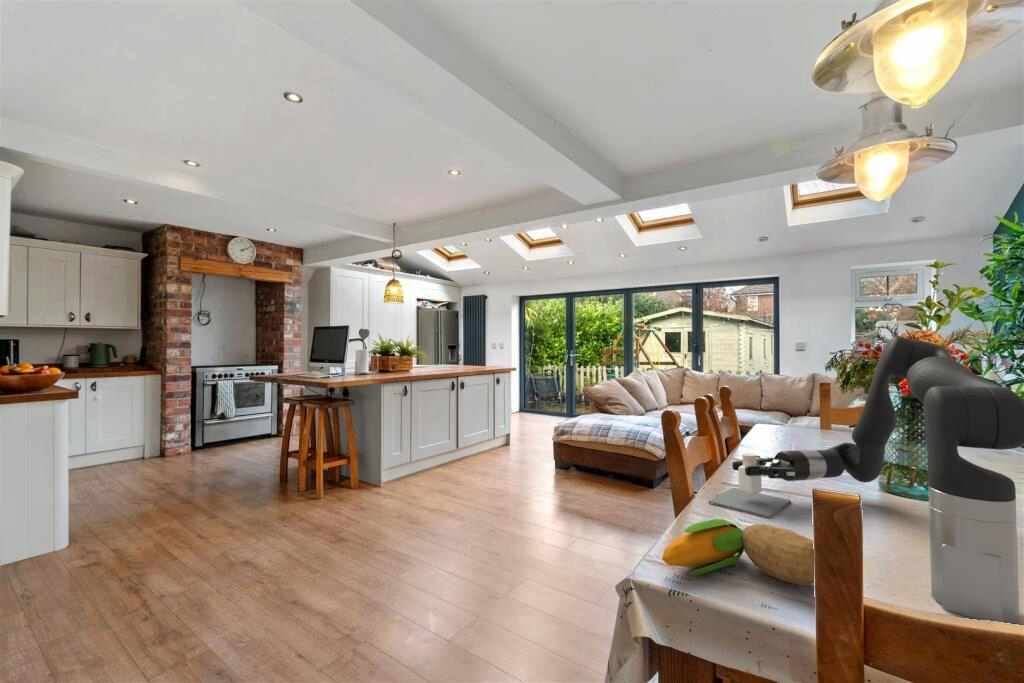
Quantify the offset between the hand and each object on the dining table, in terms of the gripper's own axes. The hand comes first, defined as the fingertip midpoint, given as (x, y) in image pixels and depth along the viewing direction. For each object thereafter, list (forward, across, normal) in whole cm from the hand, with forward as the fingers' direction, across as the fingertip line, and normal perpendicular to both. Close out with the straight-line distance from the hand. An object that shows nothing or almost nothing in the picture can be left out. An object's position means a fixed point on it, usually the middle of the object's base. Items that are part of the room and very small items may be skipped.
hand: (739, 468), depth 112 cm
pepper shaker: (-3, 0, +6) cm, 7 cm away
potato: (+17, +35, +9) cm, 40 cm away
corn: (+27, +30, +9) cm, 41 cm away
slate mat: (-2, 0, +9) cm, 9 cm away
